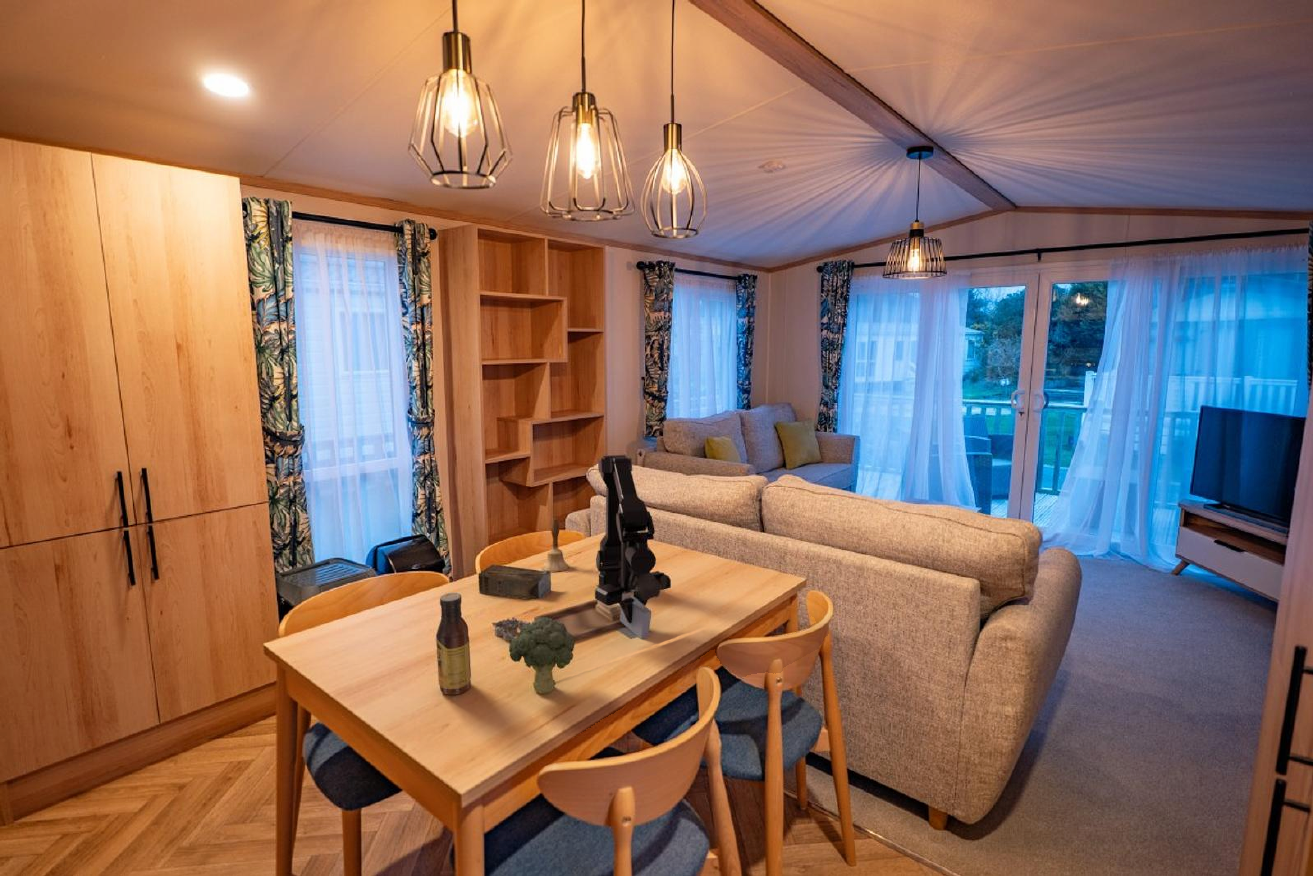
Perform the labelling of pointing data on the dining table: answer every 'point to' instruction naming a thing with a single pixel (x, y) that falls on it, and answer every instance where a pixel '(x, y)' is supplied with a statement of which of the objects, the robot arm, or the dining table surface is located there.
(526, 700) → the dining table surface
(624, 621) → the board
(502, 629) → the grey lumpy clump
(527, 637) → the vegetable
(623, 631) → the mat
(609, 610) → the offcut upper
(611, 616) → the offcut lower
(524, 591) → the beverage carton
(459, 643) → the sauce bottle
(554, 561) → the hand bell
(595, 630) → the tray
